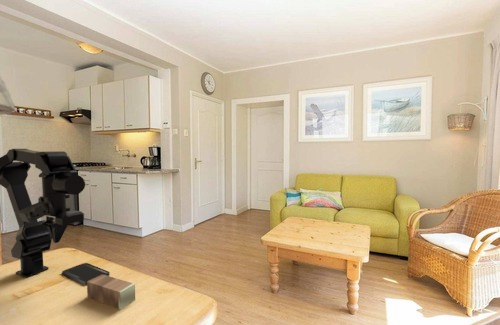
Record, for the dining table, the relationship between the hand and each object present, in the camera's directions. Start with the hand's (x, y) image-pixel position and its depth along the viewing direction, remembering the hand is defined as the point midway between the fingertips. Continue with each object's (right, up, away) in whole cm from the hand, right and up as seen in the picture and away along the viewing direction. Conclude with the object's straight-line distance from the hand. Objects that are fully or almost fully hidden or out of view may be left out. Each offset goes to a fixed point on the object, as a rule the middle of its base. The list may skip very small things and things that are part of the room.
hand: (56, 242), depth 78 cm
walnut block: (+16, -10, -7) cm, 20 cm away
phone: (+6, -12, +4) cm, 15 cm away
